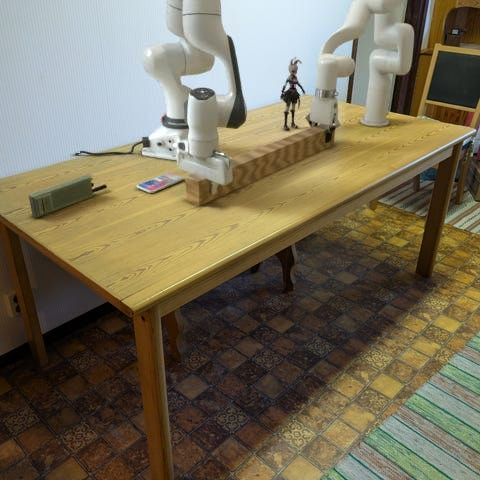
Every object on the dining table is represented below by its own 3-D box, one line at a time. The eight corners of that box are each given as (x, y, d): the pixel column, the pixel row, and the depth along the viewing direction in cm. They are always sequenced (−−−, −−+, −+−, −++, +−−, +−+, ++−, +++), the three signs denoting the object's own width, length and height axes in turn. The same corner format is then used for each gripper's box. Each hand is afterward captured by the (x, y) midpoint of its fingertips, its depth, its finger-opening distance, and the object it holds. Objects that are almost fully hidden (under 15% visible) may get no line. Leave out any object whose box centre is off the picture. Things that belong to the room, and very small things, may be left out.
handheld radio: (30, 215, 144) (102, 188, 161) (37, 219, 142) (109, 191, 159) (26, 193, 140) (100, 168, 157) (33, 197, 138) (107, 171, 155)
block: (199, 206, 151) (198, 181, 147) (186, 200, 154) (185, 176, 150) (333, 145, 201) (335, 125, 197) (321, 142, 204) (323, 122, 200)
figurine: (282, 133, 213) (286, 58, 198) (272, 129, 216) (275, 56, 202) (305, 126, 221) (311, 54, 206) (295, 123, 225) (300, 52, 210)
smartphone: (184, 177, 167) (150, 191, 157) (184, 180, 167) (151, 194, 157) (168, 171, 171) (134, 185, 161) (168, 174, 171) (135, 188, 161)
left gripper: (237, 152, 144) (237, 196, 151) (187, 136, 155) (189, 178, 162) (222, 157, 140) (222, 203, 146) (172, 141, 151) (174, 184, 158)
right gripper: (350, 95, 186) (345, 142, 195) (311, 87, 196) (308, 133, 205) (340, 99, 181) (334, 147, 190) (300, 91, 191) (297, 137, 200)
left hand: (204, 190), depth 154 cm, fingers closed on block, 5 cm apart
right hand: (321, 139), depth 197 cm, fingers closed on block, 5 cm apart
